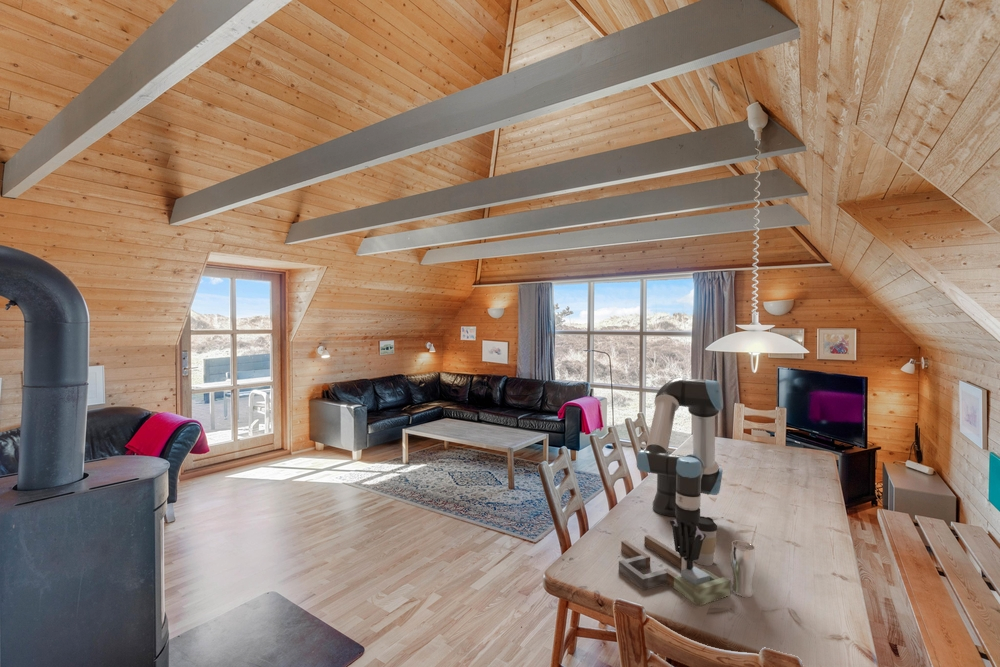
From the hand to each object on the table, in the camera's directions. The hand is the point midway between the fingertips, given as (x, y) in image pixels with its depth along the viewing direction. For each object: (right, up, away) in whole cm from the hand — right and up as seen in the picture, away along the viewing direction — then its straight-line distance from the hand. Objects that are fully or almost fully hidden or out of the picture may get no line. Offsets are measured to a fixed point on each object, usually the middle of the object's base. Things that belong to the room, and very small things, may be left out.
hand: (686, 577), depth 151 cm
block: (+1, -2, -4) cm, 4 cm away
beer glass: (+16, -2, -5) cm, 17 cm away
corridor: (-7, -1, +4) cm, 9 cm away
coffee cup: (+11, -2, +14) cm, 18 cm away
